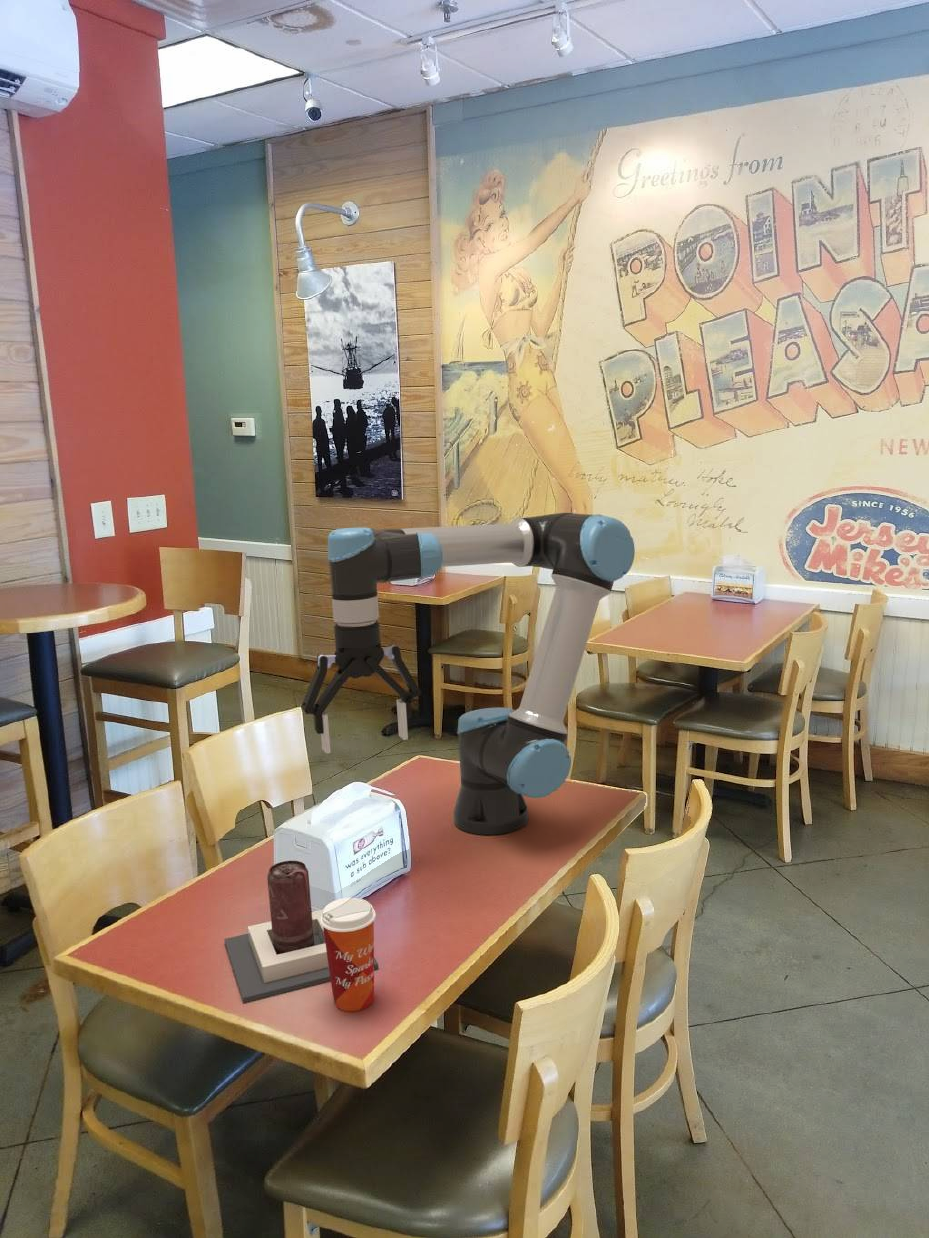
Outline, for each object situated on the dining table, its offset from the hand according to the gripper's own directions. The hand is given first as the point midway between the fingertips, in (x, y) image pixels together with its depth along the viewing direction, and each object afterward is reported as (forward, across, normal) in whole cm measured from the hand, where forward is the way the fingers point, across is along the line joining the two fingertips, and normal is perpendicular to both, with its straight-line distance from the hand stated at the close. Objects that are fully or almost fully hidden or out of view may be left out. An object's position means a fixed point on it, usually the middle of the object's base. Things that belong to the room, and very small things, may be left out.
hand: (365, 744), depth 164 cm
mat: (+26, +17, +16) cm, 35 cm away
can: (+26, +18, +16) cm, 35 cm away
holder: (+26, +17, +16) cm, 35 cm away
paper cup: (+27, +13, +31) cm, 43 cm away
